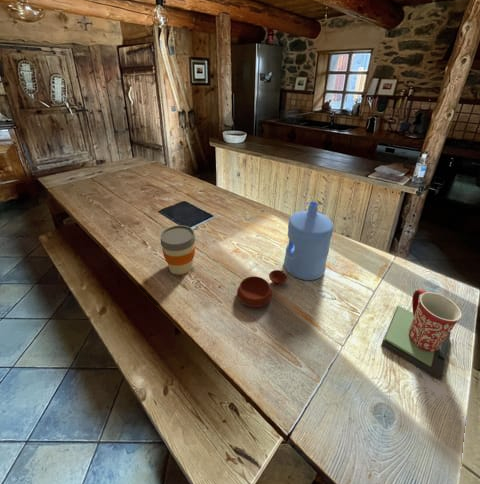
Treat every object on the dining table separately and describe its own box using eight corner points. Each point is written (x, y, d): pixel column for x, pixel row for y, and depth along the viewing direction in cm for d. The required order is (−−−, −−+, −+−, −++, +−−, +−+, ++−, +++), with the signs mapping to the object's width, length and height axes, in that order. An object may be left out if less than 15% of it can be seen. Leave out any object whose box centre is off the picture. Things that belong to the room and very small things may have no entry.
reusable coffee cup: (201, 271, 101) (199, 239, 94) (168, 282, 96) (164, 248, 89) (191, 252, 111) (189, 221, 104) (161, 261, 106) (156, 229, 99)
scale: (448, 337, 78) (451, 330, 77) (440, 380, 67) (444, 374, 66) (395, 310, 86) (398, 304, 85) (381, 345, 75) (383, 338, 74)
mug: (451, 357, 70) (471, 321, 64) (416, 355, 70) (432, 319, 64) (423, 315, 81) (438, 282, 75) (393, 314, 81) (405, 281, 75)
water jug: (329, 263, 106) (342, 201, 94) (316, 287, 94) (329, 220, 82) (293, 249, 114) (301, 190, 102) (277, 270, 102) (283, 206, 90)
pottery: (230, 293, 91) (230, 284, 89) (272, 269, 102) (273, 260, 100) (251, 317, 83) (252, 307, 81) (295, 288, 94) (296, 279, 92)
